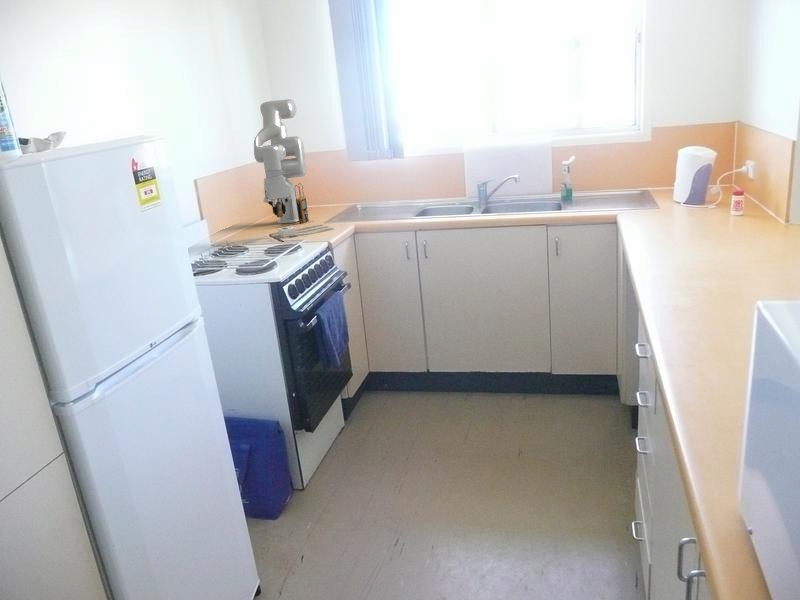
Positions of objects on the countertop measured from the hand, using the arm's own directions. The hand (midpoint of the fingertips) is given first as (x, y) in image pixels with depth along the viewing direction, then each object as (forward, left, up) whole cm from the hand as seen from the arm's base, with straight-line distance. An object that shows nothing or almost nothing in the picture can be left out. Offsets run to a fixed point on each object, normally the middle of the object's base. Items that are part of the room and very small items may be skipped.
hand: (279, 213), depth 306 cm
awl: (0, 0, -1) cm, 1 cm away
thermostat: (+8, 0, -9) cm, 12 cm away
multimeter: (-16, +20, -10) cm, 28 cm away
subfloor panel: (+7, +7, -10) cm, 14 cm away
